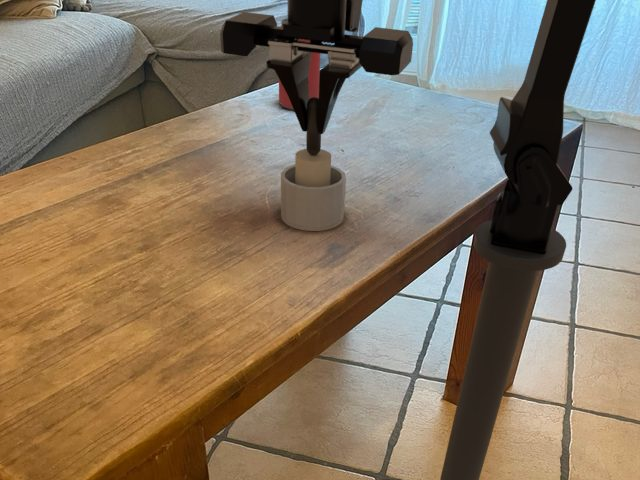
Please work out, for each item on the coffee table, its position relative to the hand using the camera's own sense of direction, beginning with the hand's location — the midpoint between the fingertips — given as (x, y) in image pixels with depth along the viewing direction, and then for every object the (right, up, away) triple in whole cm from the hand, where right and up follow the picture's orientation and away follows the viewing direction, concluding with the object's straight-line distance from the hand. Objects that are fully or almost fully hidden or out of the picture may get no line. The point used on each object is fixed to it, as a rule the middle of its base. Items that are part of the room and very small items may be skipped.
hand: (313, 131), depth 72 cm
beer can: (-3, +21, +37) cm, 42 cm away
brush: (0, -5, +4) cm, 6 cm away
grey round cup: (0, -7, +7) cm, 10 cm away
